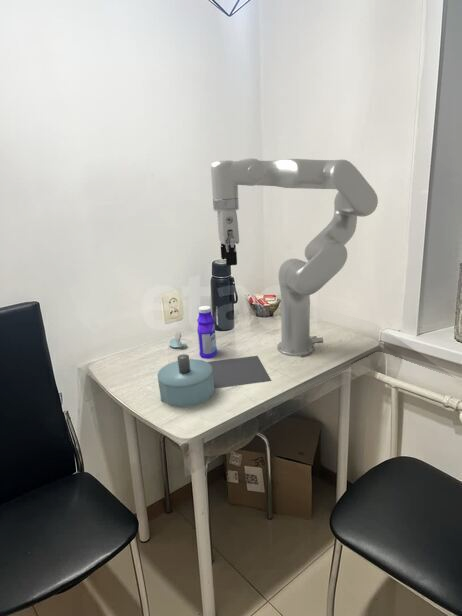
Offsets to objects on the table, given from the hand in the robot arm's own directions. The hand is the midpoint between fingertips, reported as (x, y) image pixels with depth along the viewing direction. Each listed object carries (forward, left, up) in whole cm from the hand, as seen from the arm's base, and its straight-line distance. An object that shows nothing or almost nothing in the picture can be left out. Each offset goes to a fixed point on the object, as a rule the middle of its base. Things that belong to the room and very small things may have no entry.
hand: (228, 261), depth 127 cm
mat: (+1, +9, -33) cm, 35 cm away
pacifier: (+18, -15, -34) cm, 41 cm away
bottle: (+8, -6, -34) cm, 35 cm away
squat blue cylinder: (+17, +18, -33) cm, 41 cm away
